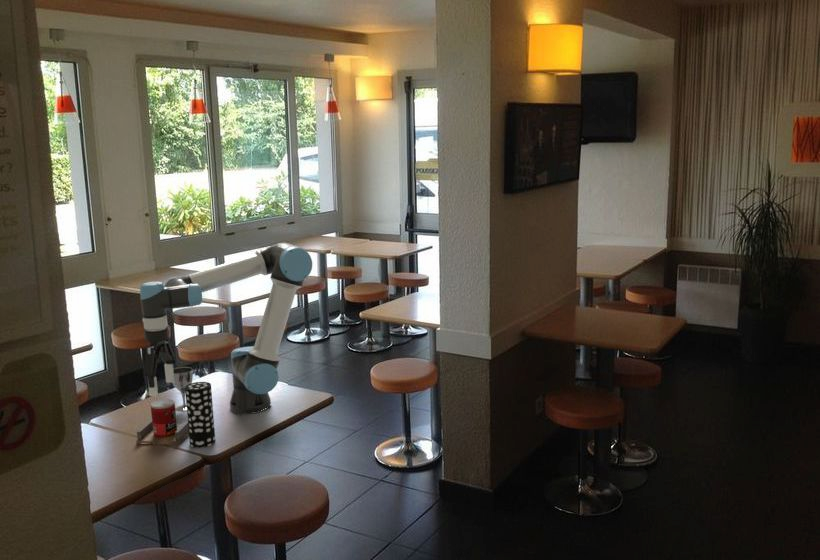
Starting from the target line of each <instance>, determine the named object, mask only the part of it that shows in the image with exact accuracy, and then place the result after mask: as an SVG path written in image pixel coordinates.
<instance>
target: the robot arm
mask: <svg viewBox="0 0 820 560" xmlns="http://www.w3.org/2000/svg"><path fill="white" fill-rule="evenodd" d="M312 269H313V259H312V257H311V255H310V253H309V252H308V251H307V250H305V248H303V247H301V246H299V245H294V244H293V243H289V242H279V243H276V244H273V245H269V246H267V247H264V248H261V249H258V250H256V251H255V253H254V254H251V255H247V256H245V257H242V258H238V259H235V260H231V261H228V262H226V263H223V264H219V265H216V266H213V267H212V266H211V267H209V268H206V269H203V270H199V271H196V272H194V273H189V274H187V275H183V276H181V277H178V276H174V277H173V276H172V277H170V278H168V279H167V280H166V281H165V283H163V282H162V281H149V282H145V283H142V284H141V285H140V286H139V294H140V297H139V298H140V305H141V306H140V307H141V313H142V320H141V321H142V322H143V329H145V330H143V331H144V332H143V333H144V339H145V340H144V341H146V342H147V343H149V347H145V350H144V351H145V359H144V369H143V370H144V371H143V378H144V379H147V384H148V385H147V386H148V393H149V394H148V396H149V397H159V388H158V381H157V380H158V379H157V376H156V373H157V369H158V363H159V360H160V359H161V358H162V360H163V361H164V363H165V364H164V375H165V383H172V382H175V381H174V371H173V369H174V364H176V356H175V355H176V354H175V352H174V350H173V348H172V344H171V341H170V337H169V328H168V325H169V324H168V315H167V310H173V309H181V308H188V307H189V308H190V307H191V308H192V307H196V306H200V305H201V304H202V303H203V293H205V292H208V291H212V290H215V289H217V288H221V287H225V286H227V285H230V284H233V283H237V282H239V281H243V280H247V279H250V278H253V277H255V276H259V275H263V276H268V275H270V277H269V278H270V280H271V282H272V286H271V290H270V293H269V296H268V300H267V302H266V307H265V309H264V312H263V316H262V318H261V322H260V326H259V329H258V331H257V336H256V338H255V343H254V345H252V346H243V347H237V348H235V349H233V350H232V351H231V353H230V360H231V372H232V374H231V375H232V385H233V386H232V388H233V390H232V392H231V397H230V401H229V409H231V410H230V411H231V412H233V413H235V412H236V414H241V413H249V414H253V413H252V412H257V413H259V412H258V411H261V410H263V409H265V408H267V407H269V406H270V404H271V405H272V401H271V397H270V395H269V393H270V392H271V391H272V390H273V389H275V388H276V386H277V385H278V382H279V378H280V377H279V372H278V367H279V364H280V361H281V358H280V357H279V355H278V352H279V349H280V346H281V341H282V338H283V336H284V333H285V329H286V327H287V322H288V319H289V316H290V312H291V309H292V306H293V303H294V299H295V296H296V292H297V290H299V289H301V288H302V287H303V284H304V281H305V280H306V278H308V277H309V276H310V274H311V273H312ZM270 407H271V406H270ZM270 407H269V408H270ZM261 412H262V411H261Z"/></svg>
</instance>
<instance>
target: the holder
mask: <svg viewBox="0 0 820 560" xmlns="http://www.w3.org/2000/svg"><path fill="white" fill-rule="evenodd" d="M136 435H137V437H136V438H137V439H136V440H135V442H136V443H154V444H153V445H164V444H166V446H167V445H173V446H175V445H176V446H179V445H182V443H183V442H185V440H186V439H187V438H188V437H189V429H188V419H187V420H185V422H184V423H182V424H181V425H179V426H178V425H177V431H176V432H175V434H174V435H172V436H169V437H157V436H155V435H154V433H153V424H152V418H151V419H149V420H148V421H147V422H146V423H145V424H144V425H142V427H141V428H140V429H138V430H137V431H136Z"/></svg>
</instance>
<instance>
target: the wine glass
mask: <svg viewBox="0 0 820 560" xmlns="http://www.w3.org/2000/svg"><path fill="white" fill-rule="evenodd" d="M173 371H174V381H175V382H171V383H172V385H173V387H174V388H175V389H176V390H177V391H179V393H180V394H181V397H182V403H183V404H181V405H179V406H175V410H176V411H177V412H187V406H186V394H185V386H186V385H188V384H191V383H193V378H194V374H193V373H194V372H193V371H194V370H193V368H192V367H189V366H180V367H174V368H173Z"/></svg>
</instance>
